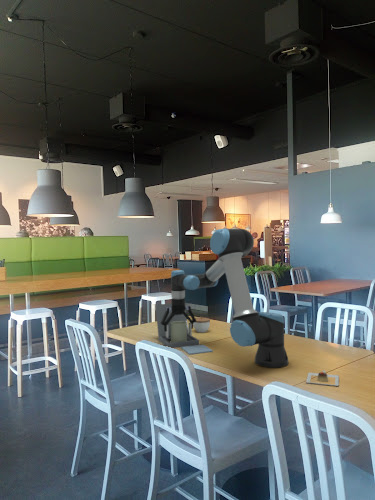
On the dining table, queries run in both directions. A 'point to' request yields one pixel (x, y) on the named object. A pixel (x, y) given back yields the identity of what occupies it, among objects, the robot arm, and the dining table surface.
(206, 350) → the mat
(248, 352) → the dining table surface
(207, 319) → the lidded jar
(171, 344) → the case
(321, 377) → the dessert
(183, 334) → the can
